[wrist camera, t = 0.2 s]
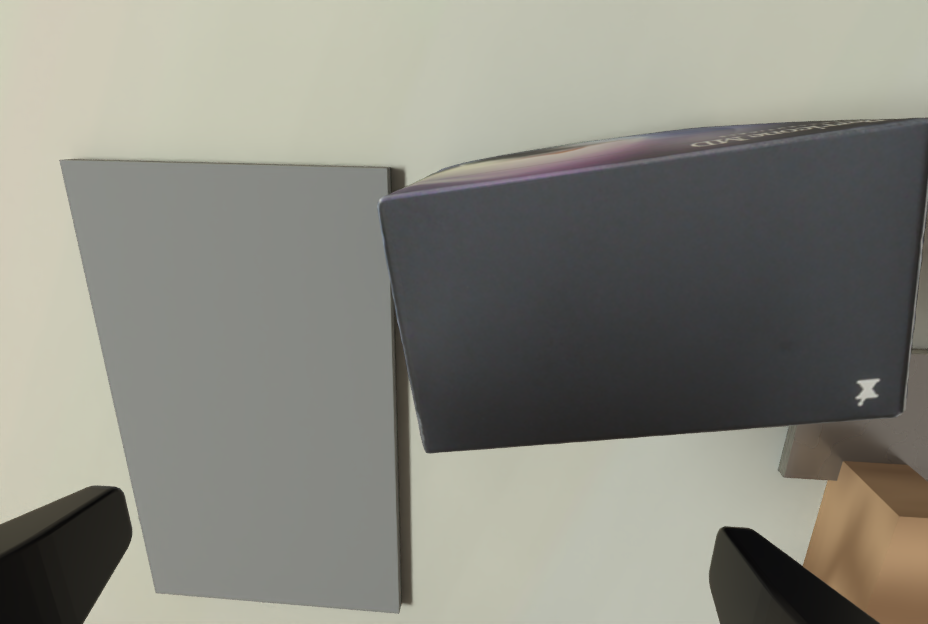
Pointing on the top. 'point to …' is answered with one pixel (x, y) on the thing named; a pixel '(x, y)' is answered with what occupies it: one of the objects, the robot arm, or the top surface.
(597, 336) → the small box
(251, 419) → the mat
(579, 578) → the top surface
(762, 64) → the top surface
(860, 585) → the turner
